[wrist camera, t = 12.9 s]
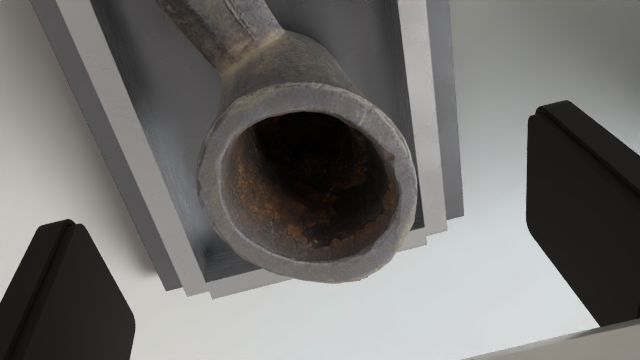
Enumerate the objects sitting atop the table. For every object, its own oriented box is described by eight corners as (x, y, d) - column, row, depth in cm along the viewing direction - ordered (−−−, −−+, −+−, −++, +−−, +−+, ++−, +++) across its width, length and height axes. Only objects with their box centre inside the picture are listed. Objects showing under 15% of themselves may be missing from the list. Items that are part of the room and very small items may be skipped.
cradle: (-31, -162, 18) (-78, -166, 15) (417, -265, 18) (451, -287, 15) (168, 275, 27) (161, 320, 25) (455, 202, 28) (480, 239, 25)
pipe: (209, -173, 17) (199, -196, 11) (393, 124, 24) (460, 230, 17) (64, -60, 18) (-31, -15, 12) (277, 196, 25) (297, 324, 18)
